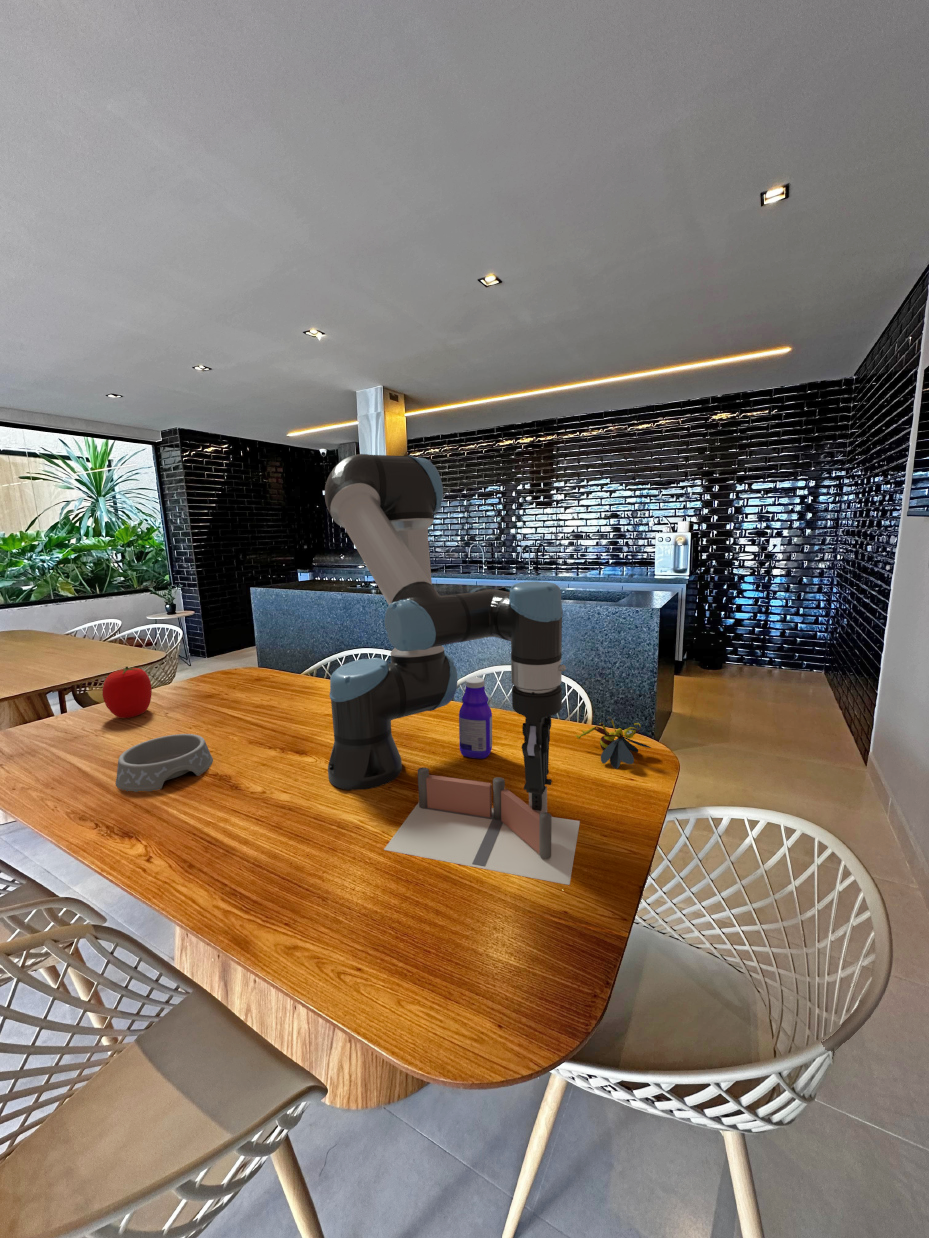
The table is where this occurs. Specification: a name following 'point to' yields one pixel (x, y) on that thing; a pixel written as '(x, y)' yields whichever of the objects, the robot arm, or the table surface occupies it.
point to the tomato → (127, 692)
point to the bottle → (475, 721)
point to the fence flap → (527, 823)
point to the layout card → (485, 844)
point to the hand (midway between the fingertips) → (538, 823)
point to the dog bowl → (161, 761)
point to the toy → (616, 744)
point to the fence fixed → (459, 794)
